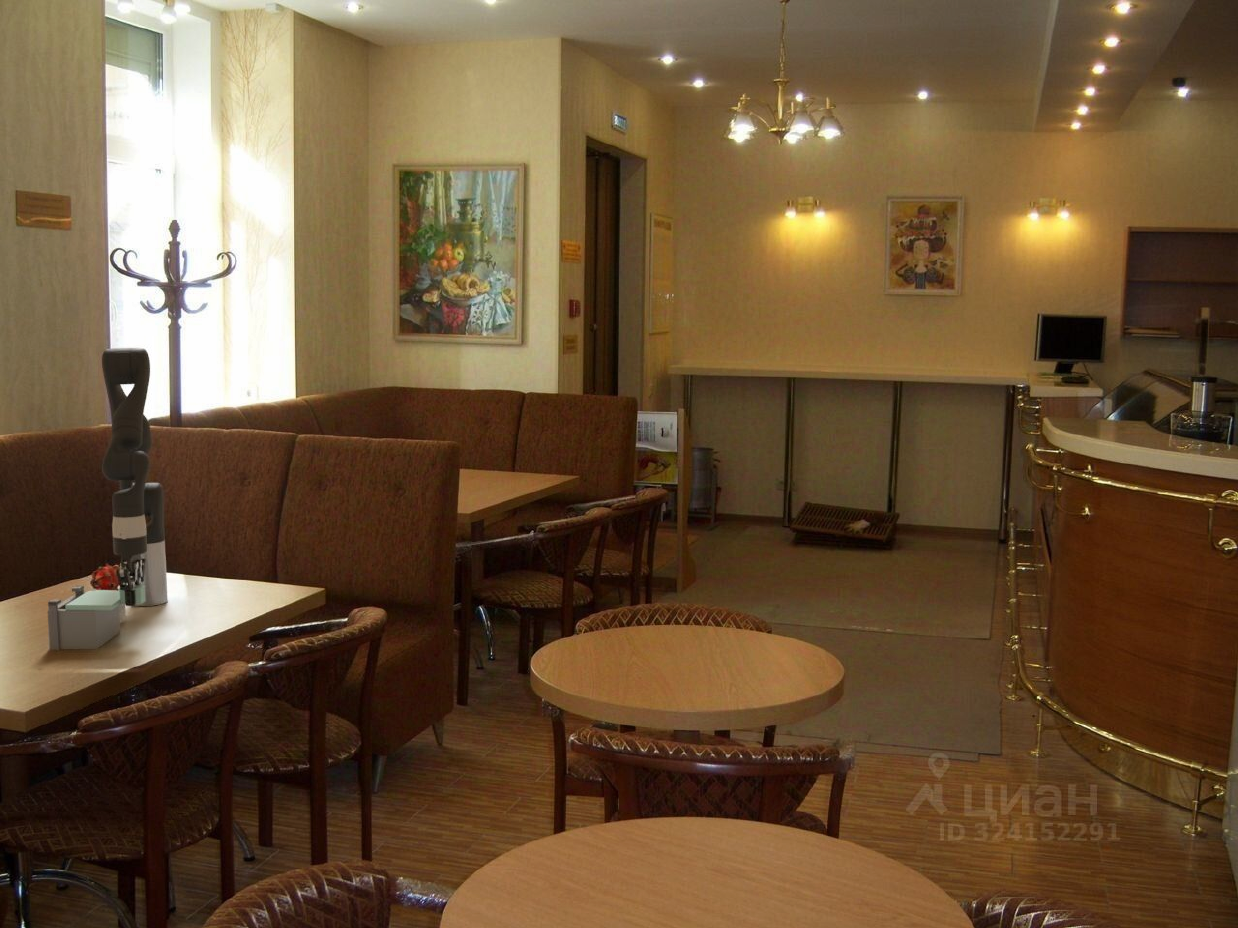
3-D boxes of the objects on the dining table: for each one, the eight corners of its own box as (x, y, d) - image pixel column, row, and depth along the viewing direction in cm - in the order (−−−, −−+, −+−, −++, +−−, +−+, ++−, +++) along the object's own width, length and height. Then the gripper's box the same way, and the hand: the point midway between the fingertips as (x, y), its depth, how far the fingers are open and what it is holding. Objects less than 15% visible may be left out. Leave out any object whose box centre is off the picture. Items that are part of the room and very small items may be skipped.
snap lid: (89, 595, 297) (88, 579, 296) (153, 595, 298) (152, 579, 297) (65, 610, 283) (64, 593, 282) (133, 610, 283) (132, 593, 283)
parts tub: (76, 633, 299) (73, 585, 297) (121, 633, 300) (119, 585, 298) (48, 653, 283) (45, 602, 281) (96, 652, 283) (93, 601, 282)
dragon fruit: (126, 592, 349) (98, 607, 338) (104, 574, 350) (75, 589, 339) (137, 571, 346) (109, 586, 335) (115, 553, 347) (86, 567, 336)
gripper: (124, 528, 295) (127, 597, 297) (102, 539, 281) (106, 611, 283) (155, 528, 295) (158, 596, 298) (135, 539, 281) (138, 611, 284)
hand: (133, 603), depth 290 cm, fingers closed on snap lid, 3 cm apart
